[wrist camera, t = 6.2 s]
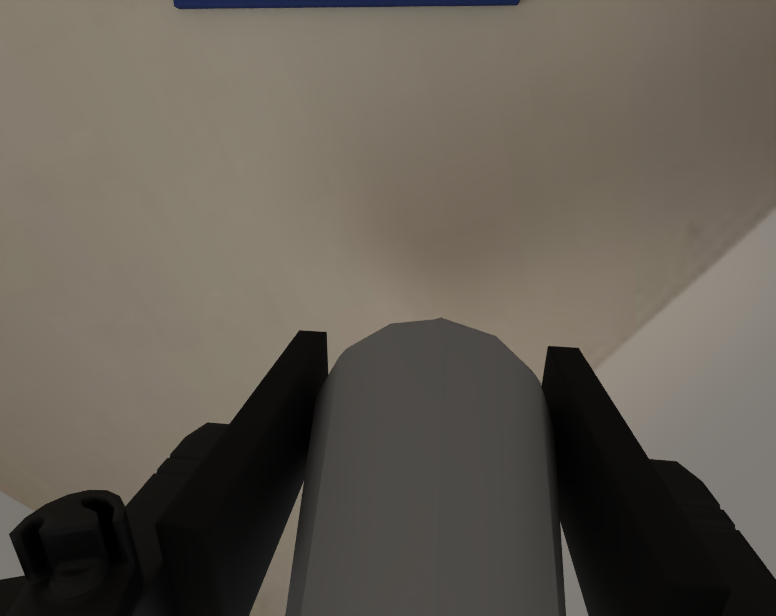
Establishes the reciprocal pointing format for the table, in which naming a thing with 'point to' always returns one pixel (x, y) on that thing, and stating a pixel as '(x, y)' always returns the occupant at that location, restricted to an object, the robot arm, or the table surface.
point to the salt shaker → (429, 482)
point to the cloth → (330, 3)
